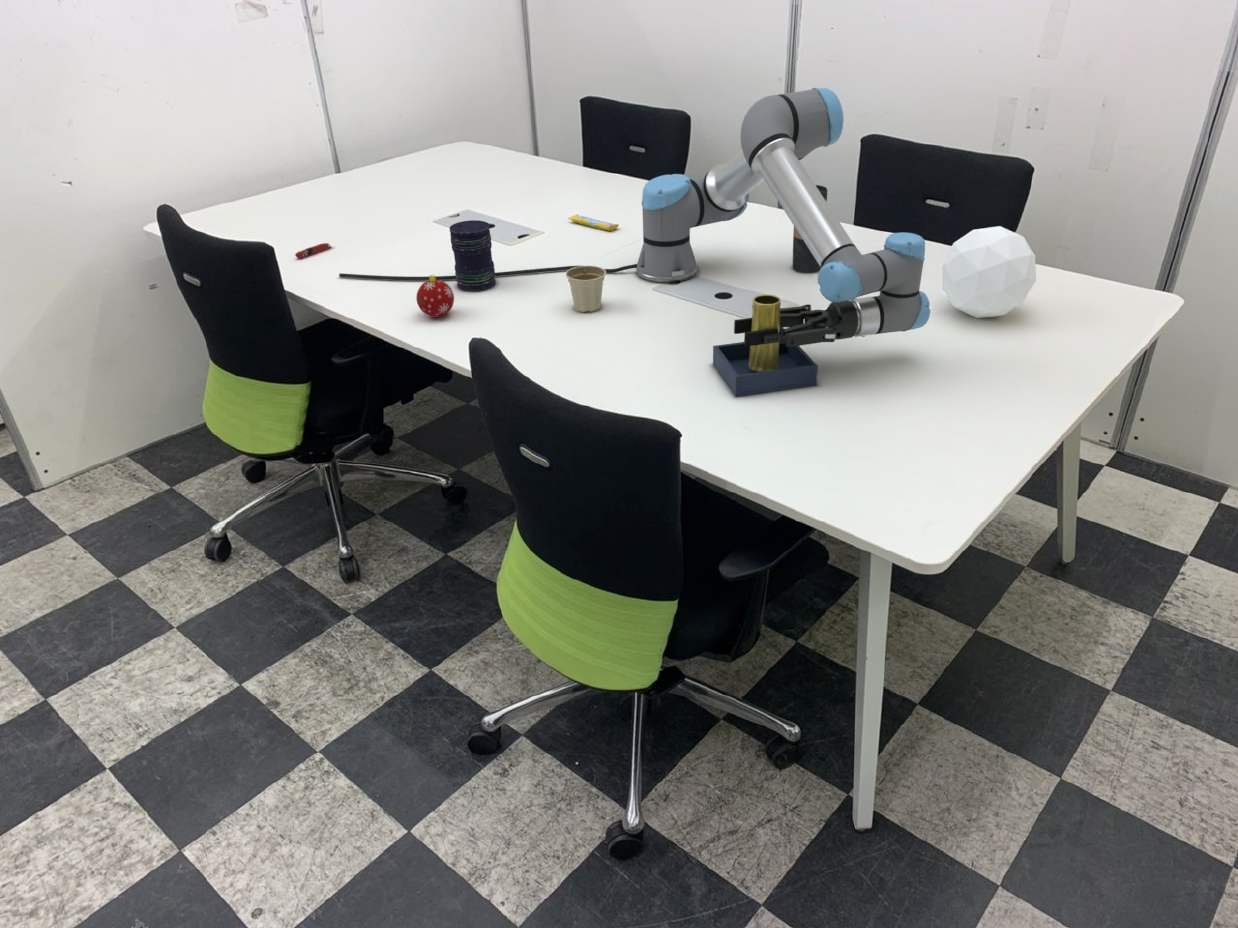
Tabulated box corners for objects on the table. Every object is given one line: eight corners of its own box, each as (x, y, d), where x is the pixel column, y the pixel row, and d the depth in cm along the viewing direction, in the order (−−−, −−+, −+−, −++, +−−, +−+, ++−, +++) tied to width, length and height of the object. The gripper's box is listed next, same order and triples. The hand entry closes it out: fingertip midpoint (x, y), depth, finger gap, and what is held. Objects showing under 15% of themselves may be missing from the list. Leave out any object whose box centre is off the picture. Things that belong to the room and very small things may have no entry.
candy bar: (620, 229, 267) (620, 222, 266) (611, 233, 265) (611, 226, 264) (577, 219, 277) (577, 212, 276) (568, 222, 274) (567, 216, 273)
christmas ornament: (415, 312, 221) (409, 272, 216) (451, 305, 224) (445, 266, 218) (424, 325, 214) (417, 284, 209) (460, 318, 217) (454, 277, 212)
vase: (745, 361, 188) (747, 294, 181) (775, 358, 189) (779, 292, 181) (751, 374, 183) (754, 306, 176) (782, 372, 184) (786, 304, 176)
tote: (735, 397, 180) (736, 377, 177) (712, 364, 192) (713, 345, 189) (816, 385, 182) (818, 365, 180) (788, 354, 194) (790, 335, 192)
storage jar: (503, 280, 237) (497, 222, 229) (483, 294, 229) (475, 235, 221) (470, 275, 240) (463, 218, 232) (449, 289, 233) (440, 230, 225)
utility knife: (297, 260, 255) (296, 253, 254) (295, 259, 256) (293, 252, 255) (332, 248, 263) (331, 241, 262) (330, 247, 263) (328, 240, 262)
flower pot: (613, 301, 222) (611, 267, 217) (599, 317, 215) (597, 281, 210) (576, 298, 225) (574, 264, 220) (562, 313, 217) (559, 278, 213)
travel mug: (822, 273, 232) (828, 193, 221) (791, 273, 233) (796, 194, 222) (821, 262, 239) (827, 184, 228) (791, 262, 240) (795, 184, 229)
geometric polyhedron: (981, 350, 208) (979, 302, 191) (926, 293, 218) (919, 243, 201) (1055, 301, 206) (1059, 248, 189) (995, 246, 217) (994, 191, 200)
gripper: (869, 355, 179) (755, 370, 175) (831, 318, 194) (724, 332, 191) (874, 318, 175) (756, 334, 171) (834, 284, 190) (725, 297, 187)
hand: (740, 333), depth 181 cm, fingers closed on vase, 5 cm apart
